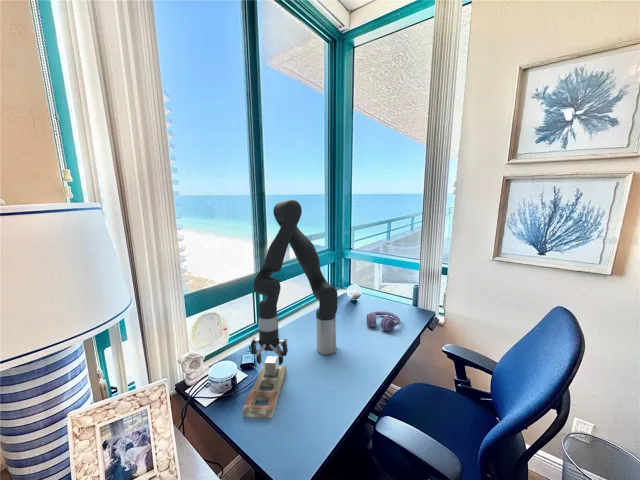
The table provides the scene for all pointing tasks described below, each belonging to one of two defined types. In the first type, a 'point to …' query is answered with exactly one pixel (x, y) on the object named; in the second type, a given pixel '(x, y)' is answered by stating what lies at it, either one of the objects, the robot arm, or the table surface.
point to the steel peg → (271, 367)
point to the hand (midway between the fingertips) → (270, 363)
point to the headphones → (383, 320)
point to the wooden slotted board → (264, 394)
